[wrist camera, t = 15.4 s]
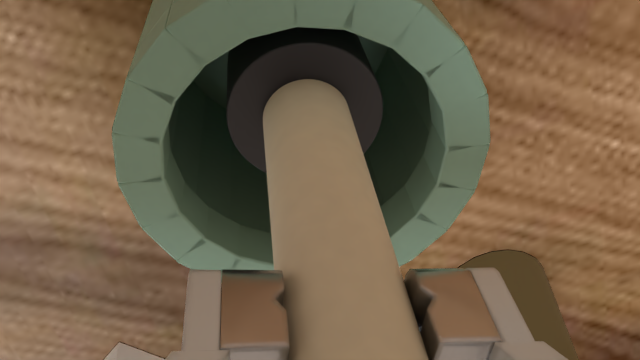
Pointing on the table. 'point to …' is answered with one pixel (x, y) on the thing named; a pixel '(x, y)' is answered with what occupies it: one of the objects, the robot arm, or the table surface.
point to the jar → (251, 183)
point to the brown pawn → (530, 296)
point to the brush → (322, 192)
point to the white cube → (129, 354)
